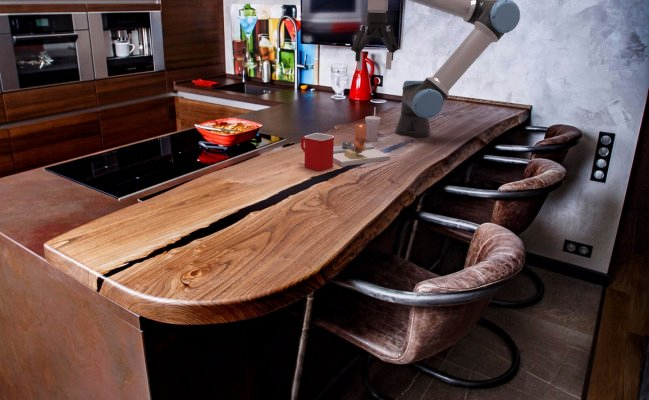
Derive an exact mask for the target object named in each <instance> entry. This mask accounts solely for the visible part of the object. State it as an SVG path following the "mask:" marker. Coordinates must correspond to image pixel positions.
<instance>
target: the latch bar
mask: <svg viewBox="0 0 649 400" xmlns="http://www.w3.org/2000/svg"><path fill="white" fill-rule="evenodd" d="M366 127H367V125H366V123H365V124H364V123H356V124H355V125H354V140H353V141H354V142H353V144H354V146H353V145H351V144H352V143H351V141H349V140H348V141H347V140H345V141H342V143H341V146H342V147H343V148H346V149H350V150H352V151H354V152H356V153H362V151H365V145H366V143H367V129H366Z"/></svg>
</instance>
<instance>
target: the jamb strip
mask: <svg viewBox="0 0 649 400" xmlns="http://www.w3.org/2000/svg"><path fill="white" fill-rule="evenodd" d="M351 145H353V146H354V143H351ZM370 149H375V146H374V145H372V144H370V143H367V142H366V145H365V150H370ZM344 150H346V148H343V147H342V145H334V147H333V154H337V153H344Z"/></svg>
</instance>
